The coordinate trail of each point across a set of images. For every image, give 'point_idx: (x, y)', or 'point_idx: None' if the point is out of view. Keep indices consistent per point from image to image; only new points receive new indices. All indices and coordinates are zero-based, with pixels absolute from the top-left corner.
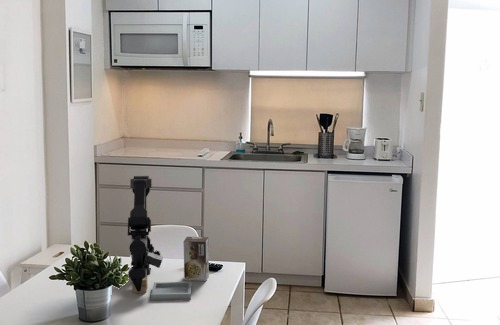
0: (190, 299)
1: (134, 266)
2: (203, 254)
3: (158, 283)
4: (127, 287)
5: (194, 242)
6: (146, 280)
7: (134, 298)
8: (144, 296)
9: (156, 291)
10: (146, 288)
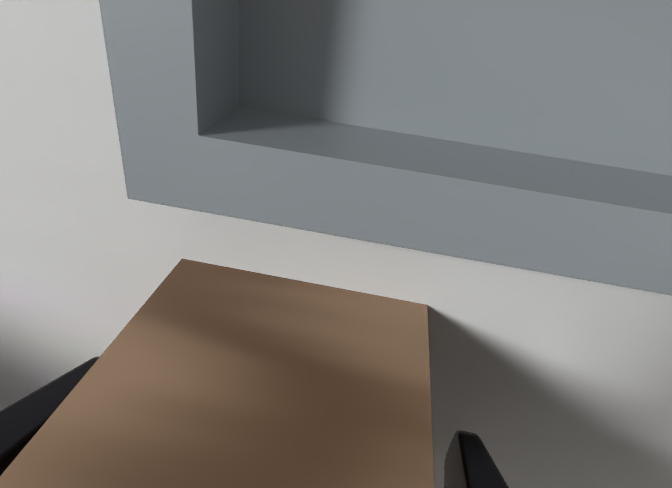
0: None
1: None
2: None
3: (195, 62)
4: None
5: None
6: (271, 480)
7: (616, 471)
8: (605, 350)
9: (576, 133)
10: (347, 328)
